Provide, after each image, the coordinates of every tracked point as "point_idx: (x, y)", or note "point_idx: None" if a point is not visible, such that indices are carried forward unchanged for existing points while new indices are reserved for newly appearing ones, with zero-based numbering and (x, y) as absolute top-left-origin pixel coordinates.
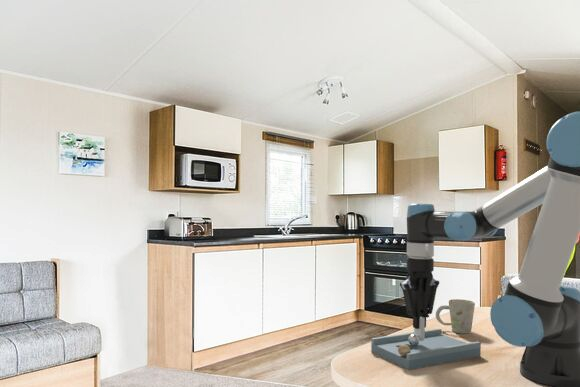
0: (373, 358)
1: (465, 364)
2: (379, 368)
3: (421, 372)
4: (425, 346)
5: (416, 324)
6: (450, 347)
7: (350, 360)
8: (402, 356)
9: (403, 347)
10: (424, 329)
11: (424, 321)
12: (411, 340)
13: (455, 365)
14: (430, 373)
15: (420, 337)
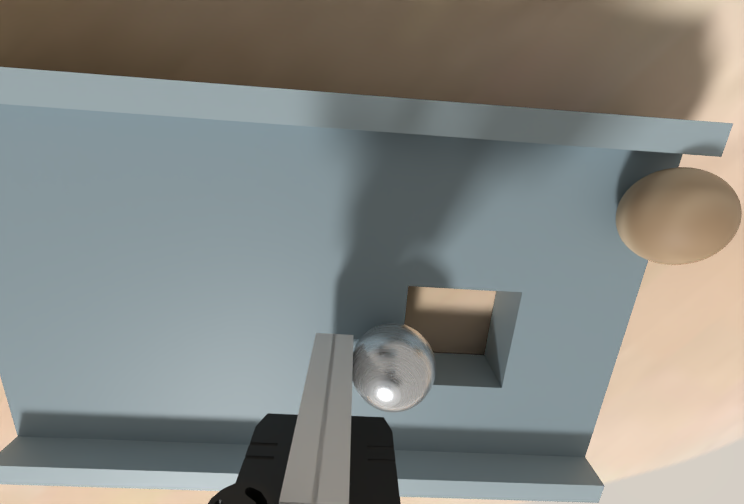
0: (625, 362)
1: (220, 9)
2: (740, 233)
3: (612, 52)
4: (329, 296)
5: (390, 453)
6: (262, 87)
7: (741, 388)
8: None
9: (737, 203)
10: (304, 389)
11: (291, 455)
12: (433, 356)
13: (303, 32)
14: (582, 4)
15: (352, 352)
